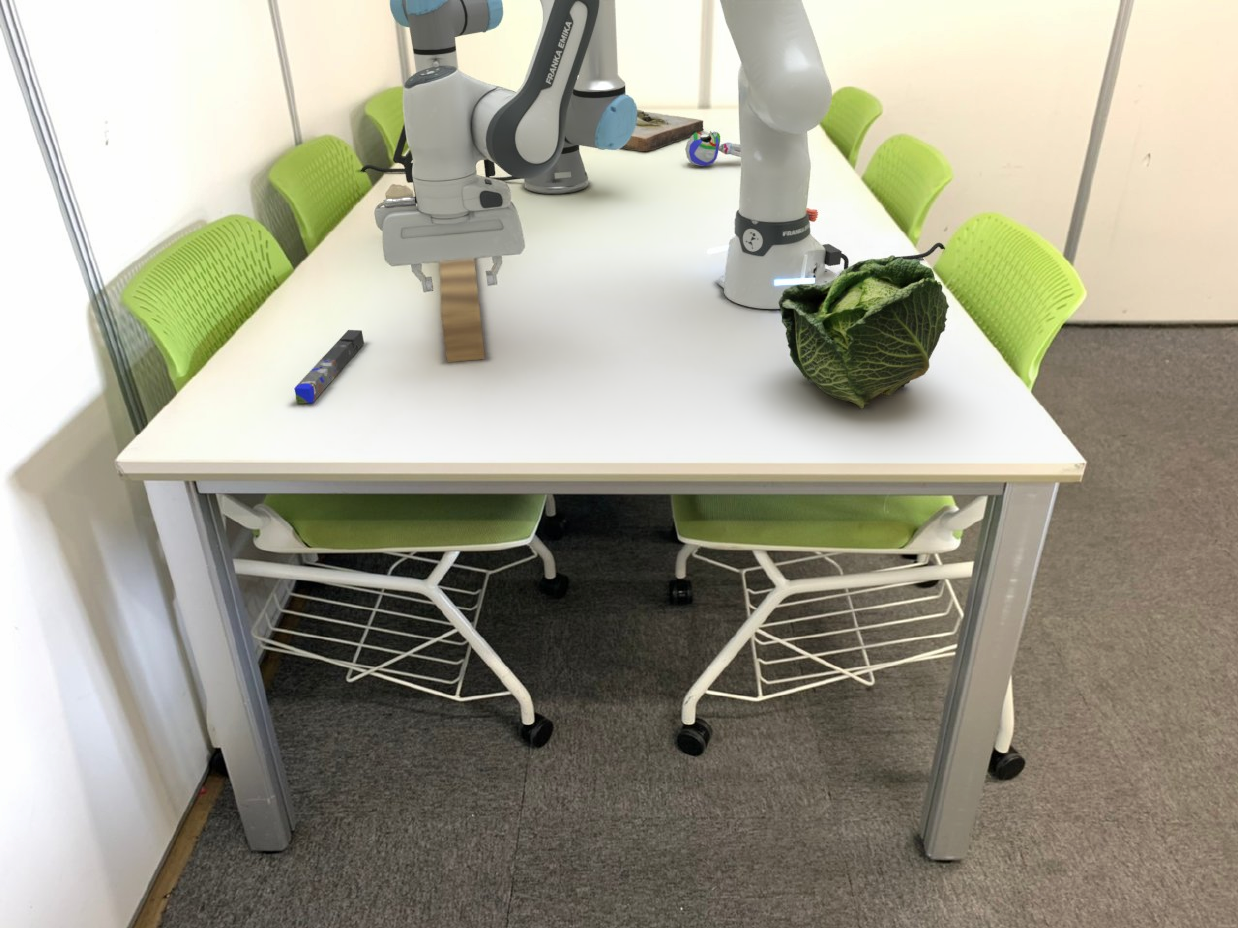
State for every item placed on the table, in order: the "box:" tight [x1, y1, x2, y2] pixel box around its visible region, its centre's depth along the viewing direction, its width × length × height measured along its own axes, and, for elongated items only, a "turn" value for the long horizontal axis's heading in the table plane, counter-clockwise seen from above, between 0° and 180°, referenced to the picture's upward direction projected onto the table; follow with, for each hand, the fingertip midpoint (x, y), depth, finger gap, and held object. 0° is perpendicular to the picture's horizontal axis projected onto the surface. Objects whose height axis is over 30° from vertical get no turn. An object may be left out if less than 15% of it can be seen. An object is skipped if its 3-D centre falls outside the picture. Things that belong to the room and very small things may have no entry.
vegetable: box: [779, 254, 950, 410], centre depth 120 cm, size 20×19×20 cm
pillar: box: [294, 329, 365, 404], centre depth 131 cm, size 2×2×20 cm
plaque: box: [621, 109, 705, 152], centre depth 257 cm, size 30×7×30 cm
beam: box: [439, 259, 486, 363], centre depth 156 cm, size 56×6×8 cm, turn 10°
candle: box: [384, 183, 415, 199], centre depth 183 cm, size 6×6×10 cm
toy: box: [684, 130, 741, 167], centre depth 229 cm, size 10×8×30 cm
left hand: (453, 196), depth 172 cm, fingers open, 13 cm apart
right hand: (460, 287), depth 133 cm, fingers open, 8 cm apart
